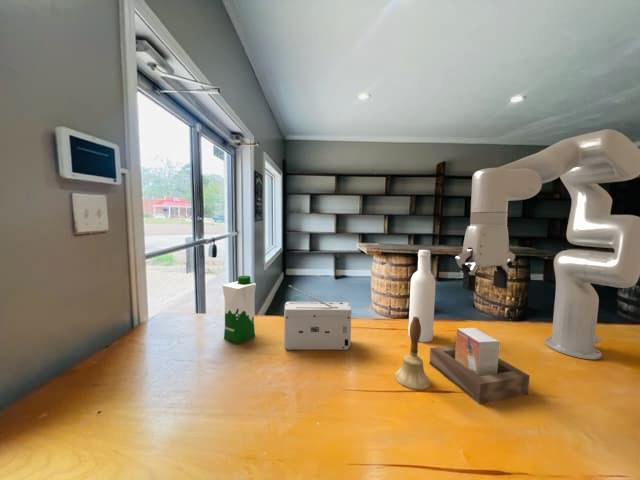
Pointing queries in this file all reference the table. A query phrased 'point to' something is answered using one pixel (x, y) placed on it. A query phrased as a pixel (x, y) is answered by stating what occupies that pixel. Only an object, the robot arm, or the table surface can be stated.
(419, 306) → the bottle
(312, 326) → the stereo radio cassette player
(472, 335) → the small box
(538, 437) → the table surface
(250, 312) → the milk carton
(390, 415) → the table surface
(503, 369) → the well block
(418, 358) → the hand bell
